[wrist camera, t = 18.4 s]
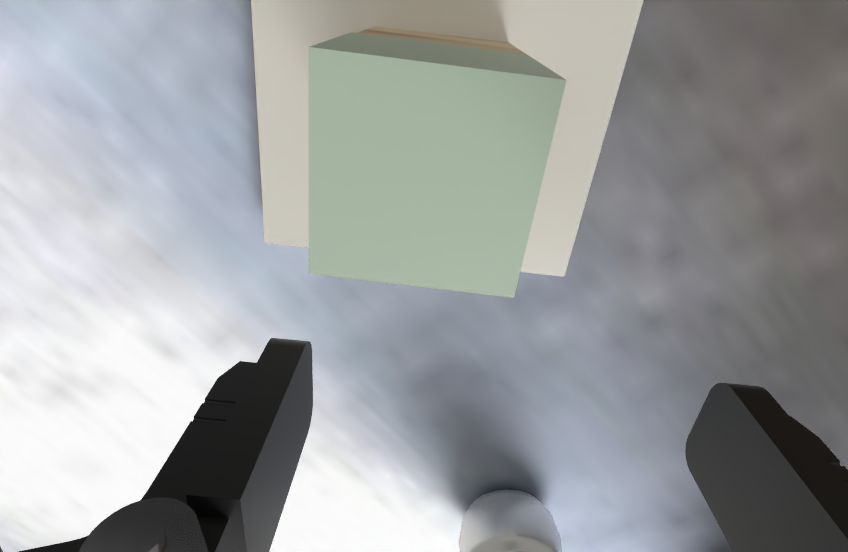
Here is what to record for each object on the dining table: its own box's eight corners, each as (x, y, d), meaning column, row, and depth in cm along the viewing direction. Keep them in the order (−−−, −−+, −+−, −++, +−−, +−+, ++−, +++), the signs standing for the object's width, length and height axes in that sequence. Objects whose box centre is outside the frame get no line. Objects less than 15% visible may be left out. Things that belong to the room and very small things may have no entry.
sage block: (495, 218, 16) (514, 297, 12) (345, 200, 16) (308, 273, 12) (528, 55, 14) (566, 80, 10) (351, 32, 14) (308, 46, 9)
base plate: (557, 261, 24) (564, 276, 23) (274, 229, 24) (264, 242, 23) (653, -86, 17) (670, -93, 16) (258, -137, 17) (242, -149, 16)
